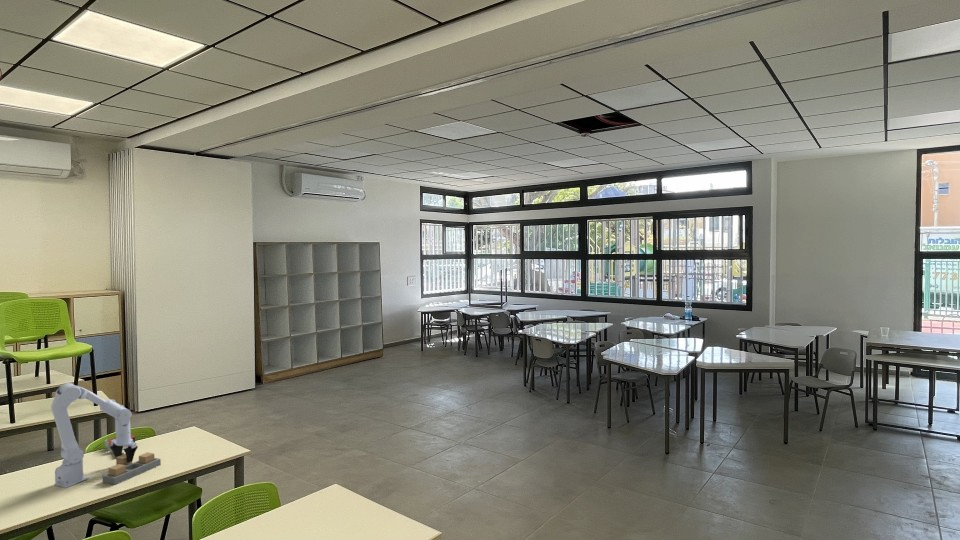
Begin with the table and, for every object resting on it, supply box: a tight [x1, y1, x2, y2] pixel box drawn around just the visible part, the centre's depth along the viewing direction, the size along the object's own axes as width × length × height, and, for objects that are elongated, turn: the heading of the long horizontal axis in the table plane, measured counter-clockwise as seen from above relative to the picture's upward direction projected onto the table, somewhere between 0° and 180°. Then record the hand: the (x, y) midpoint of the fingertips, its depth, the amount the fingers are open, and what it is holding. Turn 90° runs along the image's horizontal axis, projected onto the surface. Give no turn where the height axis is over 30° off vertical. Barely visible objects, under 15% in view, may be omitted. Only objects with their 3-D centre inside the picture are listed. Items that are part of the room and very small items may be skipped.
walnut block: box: [115, 453, 133, 466], centre depth 247 cm, size 4×4×5 cm
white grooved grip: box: [104, 433, 136, 455], centre depth 266 cm, size 18×5×20 cm
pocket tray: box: [102, 452, 162, 486], centre depth 240 cm, size 22×8×6 cm, turn 160°
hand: (124, 460), depth 247 cm, fingers open, 7 cm apart
